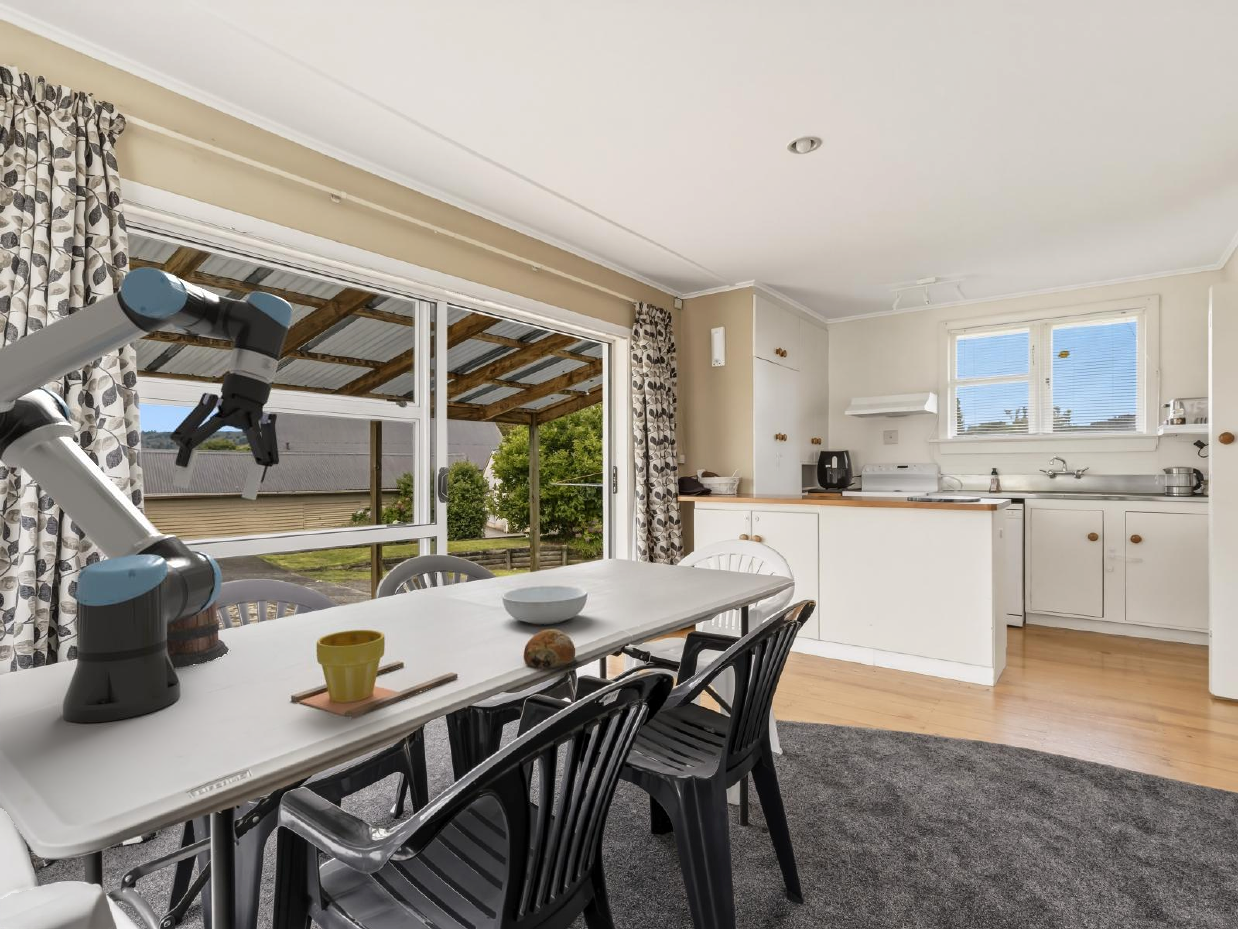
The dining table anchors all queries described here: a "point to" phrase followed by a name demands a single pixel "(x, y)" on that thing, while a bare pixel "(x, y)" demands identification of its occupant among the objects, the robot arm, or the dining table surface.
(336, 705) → the terracotta mat
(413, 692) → the walnut track
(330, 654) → the plant pot
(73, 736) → the dining table surface
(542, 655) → the bread roll
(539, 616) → the serving bowl
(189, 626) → the tankard
